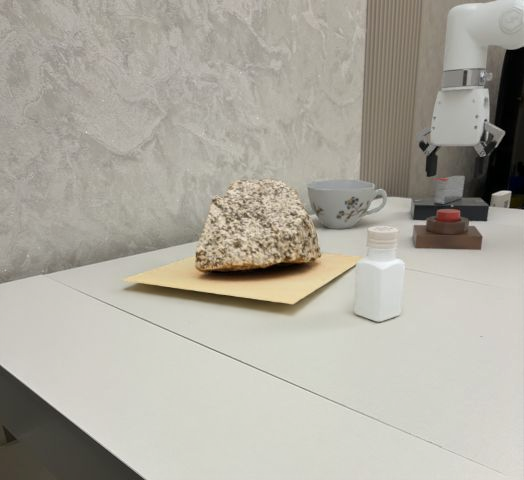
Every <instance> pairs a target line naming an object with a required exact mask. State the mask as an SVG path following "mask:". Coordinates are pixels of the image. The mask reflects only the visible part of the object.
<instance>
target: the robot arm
mask: <svg viewBox="0 0 524 480" xmlns="http://www.w3.org/2000/svg"><path fill="white" fill-rule="evenodd" d="M489 46H499V47H500V48H502V49H505V50H518V49H521V48H523V47H524V0H492V1H489V2H469V3H463V4H457V5H456V6H453V7H451V9H449V11H448V14H447V17H446V28H445V41H444V55H443V66H442V77H441V90H439V91H437V94H436V99H435V102H434V106H433V112H432V118H431V122H430V124H428V125H427V126H424V128H422V129H419V130H418V131H416V133H415V138H416V141H417V143H418V147H419V148H420V150H421V151H422V152H423V155H424V156H426V157H425V173H426V178H431V177H434V176H436V175H437V171H438V170H437V169H438V159H439V156H438V154H437V152H438V151H439V150H440V148H441V147H473V148H474V149H475V151H476V153H477V154H478V155H477V156H476V157H475V160H474V169H473V178H474V179H475V180H478V179H481V178H483V177H484V175H485V174H486V172H487V166H488V165H487V163H488V156H490V155H491V154H492V152H493V151H495V150H496V149H497V148H498V147H499V144H500V143H501V142H502V140H503V138H504V136H505V135H506V131H505V130H503V129H502V128H500V127H498V126H496V125H495V124H493V123H491V122H490V92H489V88H485V86H486V84H487V82H491V81H492V80H493V77H494V76H493V72H488V70H487V61H488V60H487V59H488V50H489ZM489 134H491V135H492V136H493V137H492V139H491V141H490V142H489V143H488V144H487V141H488V139H489ZM427 135H429V141H430V143H429V142H428V141H427V138H426V136H427Z"/></svg>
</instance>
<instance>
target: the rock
mask: <svg viewBox="0 0 524 480" xmlns="http://www.w3.org/2000/svg"><path fill="white" fill-rule="evenodd" d="M207 214H208V215H207V218H206V219H205V223H204V226H203V230H202V231H200V235H199V238H198V242H197V245H196V248H195V255H191V256H190V257H186V258H184V259H180V260H177V261H174V262H171V263H167V264H165V265H162V266H159V267H156V268H153V269H150V270H146V271H144V272H141V273H138V274H135V275H131V276H129V277H125V278H122V279H121V281H123V282H124V281H125V282H130V283H136V284H137V283H138V284H145V285H151V286H159V287H167V288H173V289H179V290H186V291H195V292H201V293H209V294H216V295H223V296H224V295H225V296H232V297H237V298H245V299H246V298H247V299H252V300H258V301H266V302H267V301H269V302H273V303H282V304H289V305H294V304H296V303H298V302H299V301H300V300H302V299H305V298H306V297H307V296H309V295H310V294H312V293H314V292H315V291H316V290H318V289H320V288H321V287H323V286H324V285H326V284H328V283H330V281H332V280H334V279H335V278H337V277H338V276H340V275H342V274H344V272H346V271H348V270H349V269H351V268H353V267H354V266H356V263H357V262H358V260H360V259H362V258H364V257H365V256H358V255H348V254H337V253H326V252H325V253H324V252H321V247H320V245H319V238H318V234H317V231H316V228H315V226H314V222H313V220H312V218H311V216H310V215H309V213H308V211H307V209H306V208H305V206H304V203H303V202H302V200H300V197H299V193H298V190H297V189H295V188H294V187H291V186H290V187H289V186H288V185H287V184H285V182H284V181H283V180H279V179H274V178H264V179H247V178H243V179H242V178H241V179H237V180H234V181H232V183H230V184H229V186H228V188H227V190H226V193H225V195H224V196H220V195H218V194H215V195H213V196H212V199H211V202H210V207H209V212H208V213H207ZM214 271H215V272H214ZM217 272H218V273H217Z"/></svg>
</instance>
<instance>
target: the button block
mask: <svg viewBox="0 0 524 480" xmlns="http://www.w3.org/2000/svg"><path fill="white" fill-rule="evenodd" d="M483 237H484V236H483V235H482V233H481V232H480V231H479V230H478V229H477V227H476V226H475V225H470V221H469V220H468V218H464V217H460V219H459V221H456V222H444V221H437V220H436V216H431V217H428V218H427V220H425V224H413V226H412V241H413V244H414V248H415V249H426V250H427V249H429V250H432V249H433V250H469V251H471V250H472V251H481V250H482V245H483Z"/></svg>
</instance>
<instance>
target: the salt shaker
mask: <svg viewBox="0 0 524 480" xmlns="http://www.w3.org/2000/svg"><path fill="white" fill-rule="evenodd" d="M399 232H400V230H399V227H394V226H387V225H376V226H375V225H374V226H370V227H368V228H367V232H366V233H367V236H366V256H363V257H364V258H362V259H360V260H358V262H357V263H356V265H355V276H354V297H353V312H354V314H355V315H357V316H360V317H363V318H366V319H368V320H371V321H374V322H376V323H377V322H378V323H380V322H384V321H386V320H389V319H392V318H396V317H398V316H400V315H401V313H402V310H403V309H402V308H403V299H404V287H405V278H406V277H405V275H406V263H405V261H403V259H400V258H399V257H397V249H398V247H399V236H400V235H399V234H400V233H399Z"/></svg>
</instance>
